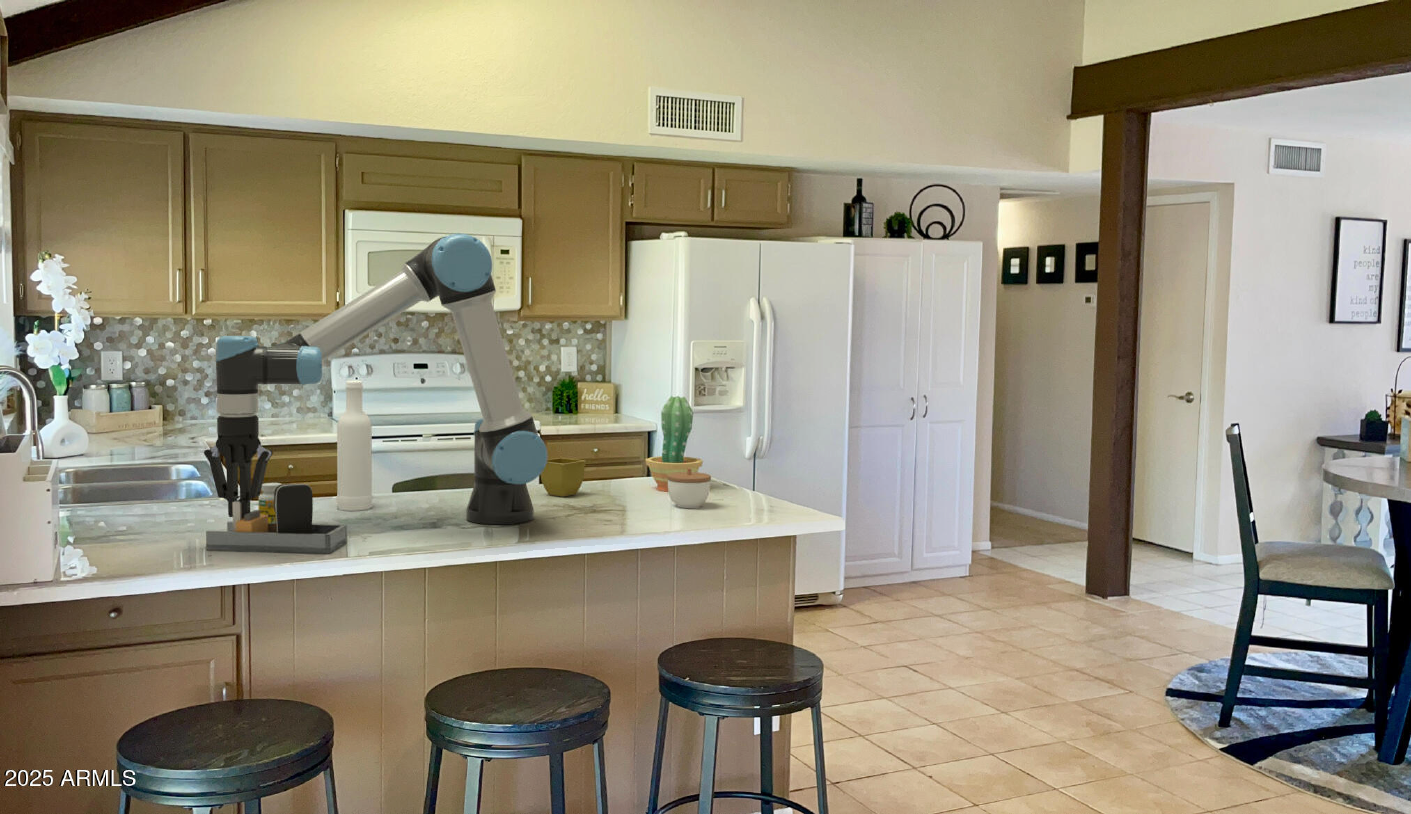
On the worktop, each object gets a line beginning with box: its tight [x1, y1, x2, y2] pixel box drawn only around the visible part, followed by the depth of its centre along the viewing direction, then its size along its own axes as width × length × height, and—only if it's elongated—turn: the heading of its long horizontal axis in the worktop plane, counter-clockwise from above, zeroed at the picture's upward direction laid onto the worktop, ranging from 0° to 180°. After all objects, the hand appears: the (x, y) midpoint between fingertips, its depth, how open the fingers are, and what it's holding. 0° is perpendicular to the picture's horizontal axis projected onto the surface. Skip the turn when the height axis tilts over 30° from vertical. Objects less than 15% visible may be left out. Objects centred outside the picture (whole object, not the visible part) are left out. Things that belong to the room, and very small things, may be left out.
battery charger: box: [274, 482, 314, 534], centre depth 226 cm, size 7×4×11 cm, turn 124°
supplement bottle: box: [258, 482, 283, 523], centre depth 243 cm, size 5×5×10 cm
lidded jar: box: [667, 468, 712, 509], centre depth 282 cm, size 11×11×9 cm
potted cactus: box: [645, 395, 704, 493], centre depth 306 cm, size 15×15×25 cm
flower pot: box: [540, 457, 586, 498], centre depth 293 cm, size 9×9×9 cm
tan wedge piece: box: [236, 509, 268, 532], centre depth 226 cm, size 3×8×5 cm, turn 179°
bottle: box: [336, 379, 373, 512], centre depth 268 cm, size 8×8×30 cm
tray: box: [205, 521, 348, 555], centre depth 226 cm, size 24×10×4 cm, turn 89°
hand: (239, 533), depth 226 cm, fingers closed
